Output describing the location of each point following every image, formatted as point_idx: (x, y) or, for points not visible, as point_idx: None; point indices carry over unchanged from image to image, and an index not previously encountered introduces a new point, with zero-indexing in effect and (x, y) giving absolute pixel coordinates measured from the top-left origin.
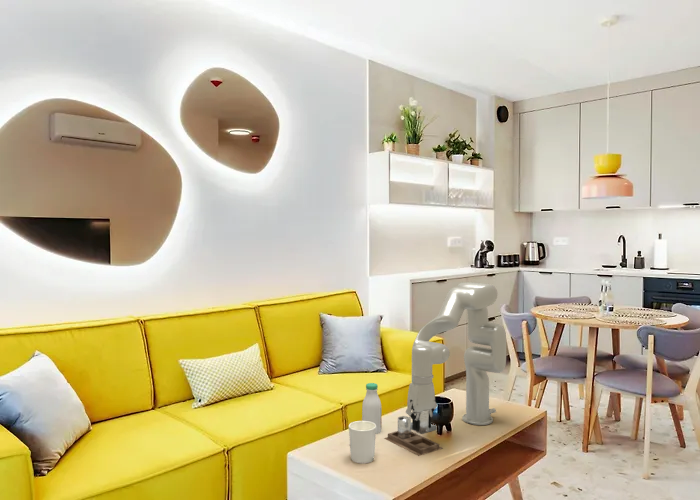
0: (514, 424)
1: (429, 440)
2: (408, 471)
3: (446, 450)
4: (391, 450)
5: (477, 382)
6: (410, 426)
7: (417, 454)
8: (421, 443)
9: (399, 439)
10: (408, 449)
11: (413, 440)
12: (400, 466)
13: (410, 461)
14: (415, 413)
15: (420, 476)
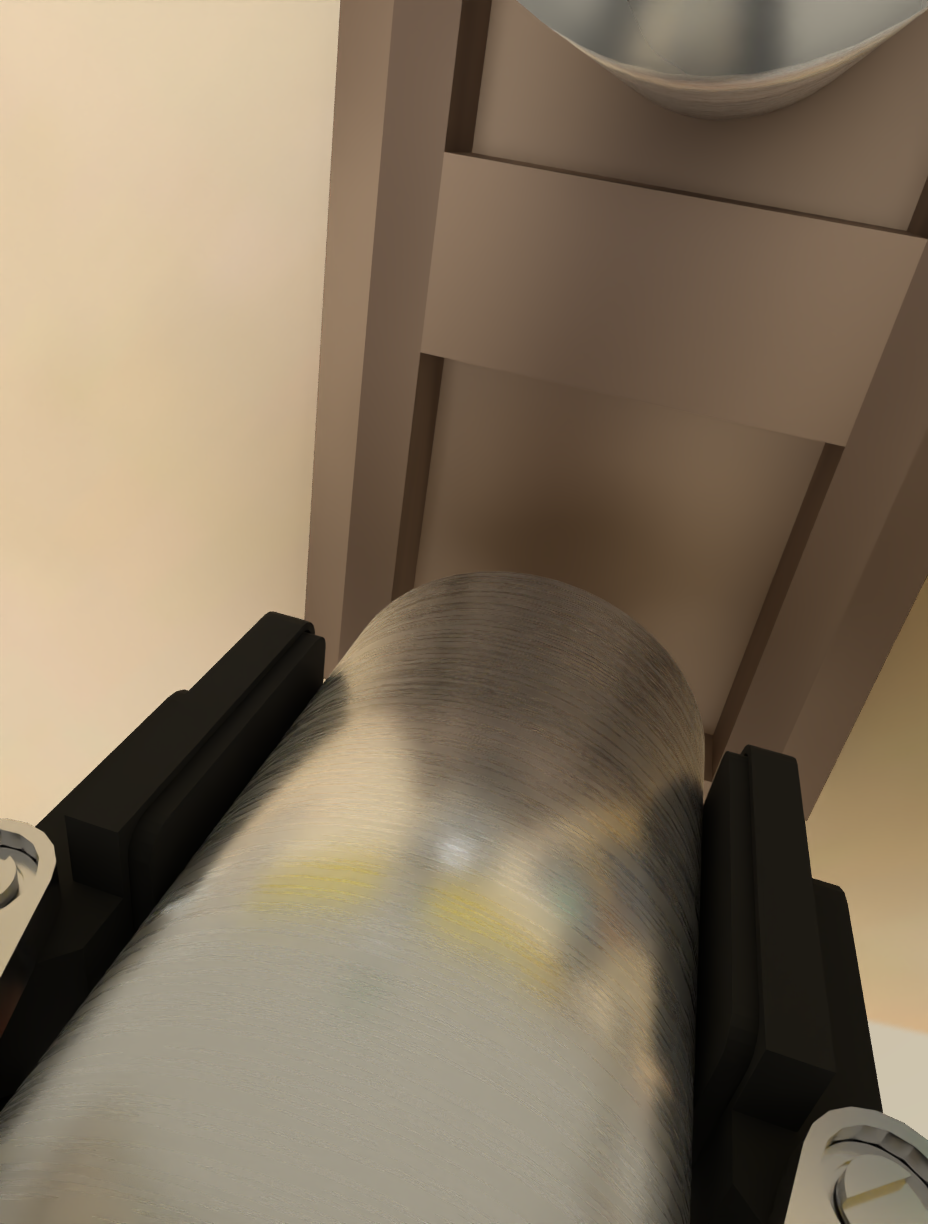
0: None
1: (806, 632)
2: (29, 706)
3: (875, 807)
4: (213, 94)
5: None
6: (839, 67)
7: (322, 635)
8: (759, 440)
9: (390, 66)
10: (353, 420)
11: (578, 373)
12: (19, 579)
13: (197, 597)
14: (4, 1109)
15: None
